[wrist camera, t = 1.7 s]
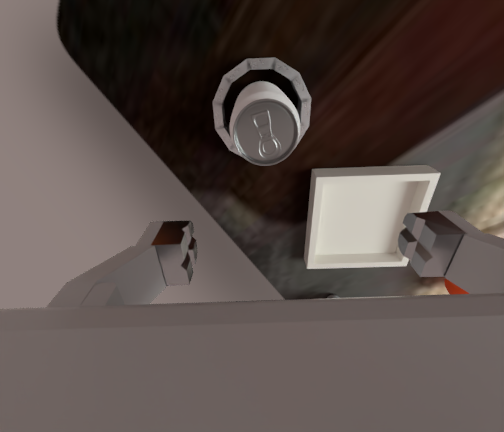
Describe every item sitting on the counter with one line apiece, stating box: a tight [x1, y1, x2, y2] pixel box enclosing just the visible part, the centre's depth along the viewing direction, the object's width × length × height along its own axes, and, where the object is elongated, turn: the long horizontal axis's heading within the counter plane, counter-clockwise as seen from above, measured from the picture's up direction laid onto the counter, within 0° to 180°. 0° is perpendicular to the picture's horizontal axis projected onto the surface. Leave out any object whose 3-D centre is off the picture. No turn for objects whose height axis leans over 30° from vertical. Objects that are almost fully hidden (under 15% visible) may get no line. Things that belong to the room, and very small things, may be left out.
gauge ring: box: [212, 57, 311, 156], centre depth 31 cm, size 11×11×3 cm
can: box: [230, 81, 300, 166], centre depth 27 cm, size 6×6×12 cm
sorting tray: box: [304, 165, 441, 269], centre depth 39 cm, size 16×16×3 cm
